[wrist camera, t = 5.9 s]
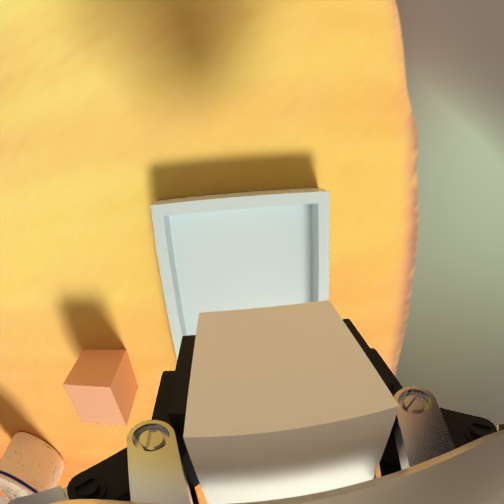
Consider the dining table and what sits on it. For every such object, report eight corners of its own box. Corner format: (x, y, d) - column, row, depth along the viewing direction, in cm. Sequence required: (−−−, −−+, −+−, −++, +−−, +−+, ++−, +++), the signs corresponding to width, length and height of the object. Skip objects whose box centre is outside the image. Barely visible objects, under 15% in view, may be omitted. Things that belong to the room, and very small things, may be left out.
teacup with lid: (3, 427, 29) (-27, 481, 18) (42, 430, 29) (12, 495, 18) (47, 477, 33) (28, 528, 22) (88, 481, 33) (72, 541, 22)
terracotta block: (84, 349, 26) (62, 384, 21) (126, 349, 26) (110, 387, 21) (97, 385, 27) (81, 421, 22) (138, 386, 28) (126, 425, 22)
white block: (199, 312, 11) (183, 437, 5) (329, 300, 11) (399, 406, 6) (215, 406, 12) (215, 521, 7) (322, 394, 12) (363, 499, 7)
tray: (158, 200, 23) (150, 205, 20) (318, 187, 23) (328, 191, 21) (187, 376, 27) (185, 394, 25) (316, 363, 28) (323, 379, 26)
